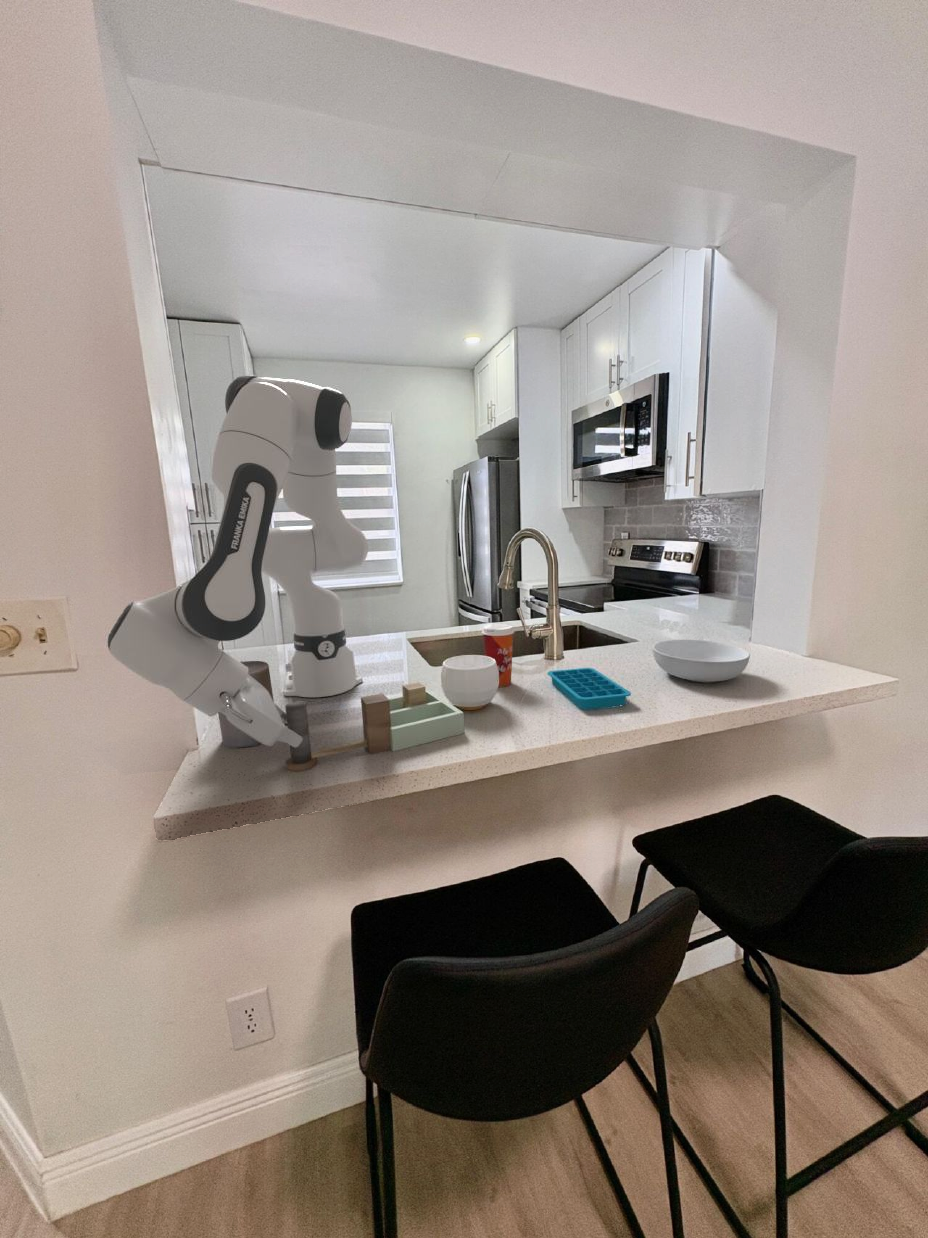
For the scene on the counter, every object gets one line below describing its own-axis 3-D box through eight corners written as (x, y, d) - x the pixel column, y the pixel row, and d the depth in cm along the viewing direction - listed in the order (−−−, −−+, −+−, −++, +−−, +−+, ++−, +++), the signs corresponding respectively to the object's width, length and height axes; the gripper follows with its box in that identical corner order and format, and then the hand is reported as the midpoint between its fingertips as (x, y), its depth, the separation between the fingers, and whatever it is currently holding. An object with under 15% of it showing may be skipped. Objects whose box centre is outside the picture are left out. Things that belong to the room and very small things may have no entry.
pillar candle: (261, 722, 101) (252, 651, 98) (287, 734, 94) (277, 658, 92) (213, 740, 94) (200, 663, 91) (237, 754, 87) (225, 672, 84)
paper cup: (506, 690, 115) (505, 631, 112) (477, 685, 119) (475, 628, 116) (520, 680, 121) (520, 624, 118) (493, 676, 125) (491, 622, 123)
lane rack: (365, 722, 99) (364, 703, 98) (429, 707, 106) (428, 689, 105) (393, 751, 86) (391, 729, 85) (464, 732, 92) (463, 712, 91)
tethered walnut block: (284, 761, 84) (278, 702, 82) (385, 739, 91) (381, 685, 89) (287, 774, 79) (280, 712, 77) (393, 750, 86) (389, 693, 84)
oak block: (404, 718, 100) (402, 685, 99) (420, 714, 102) (418, 682, 101) (410, 724, 97) (408, 690, 96) (427, 720, 99) (425, 686, 98)
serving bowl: (727, 698, 105) (729, 666, 104) (635, 678, 120) (636, 650, 119) (761, 675, 119) (763, 647, 117) (675, 660, 134) (676, 635, 133)
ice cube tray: (579, 713, 100) (579, 699, 100) (546, 683, 120) (545, 671, 119) (633, 708, 102) (633, 694, 101) (591, 679, 122) (591, 667, 121)
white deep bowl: (448, 694, 113) (446, 653, 111) (502, 696, 111) (501, 654, 109) (436, 715, 101) (434, 669, 99) (496, 717, 99) (495, 670, 97)
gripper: (239, 687, 66) (320, 738, 73) (229, 654, 84) (295, 698, 90) (207, 726, 65) (292, 774, 71) (203, 684, 83) (272, 726, 89)
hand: (293, 731), depth 81 cm, fingers open, 8 cm apart
